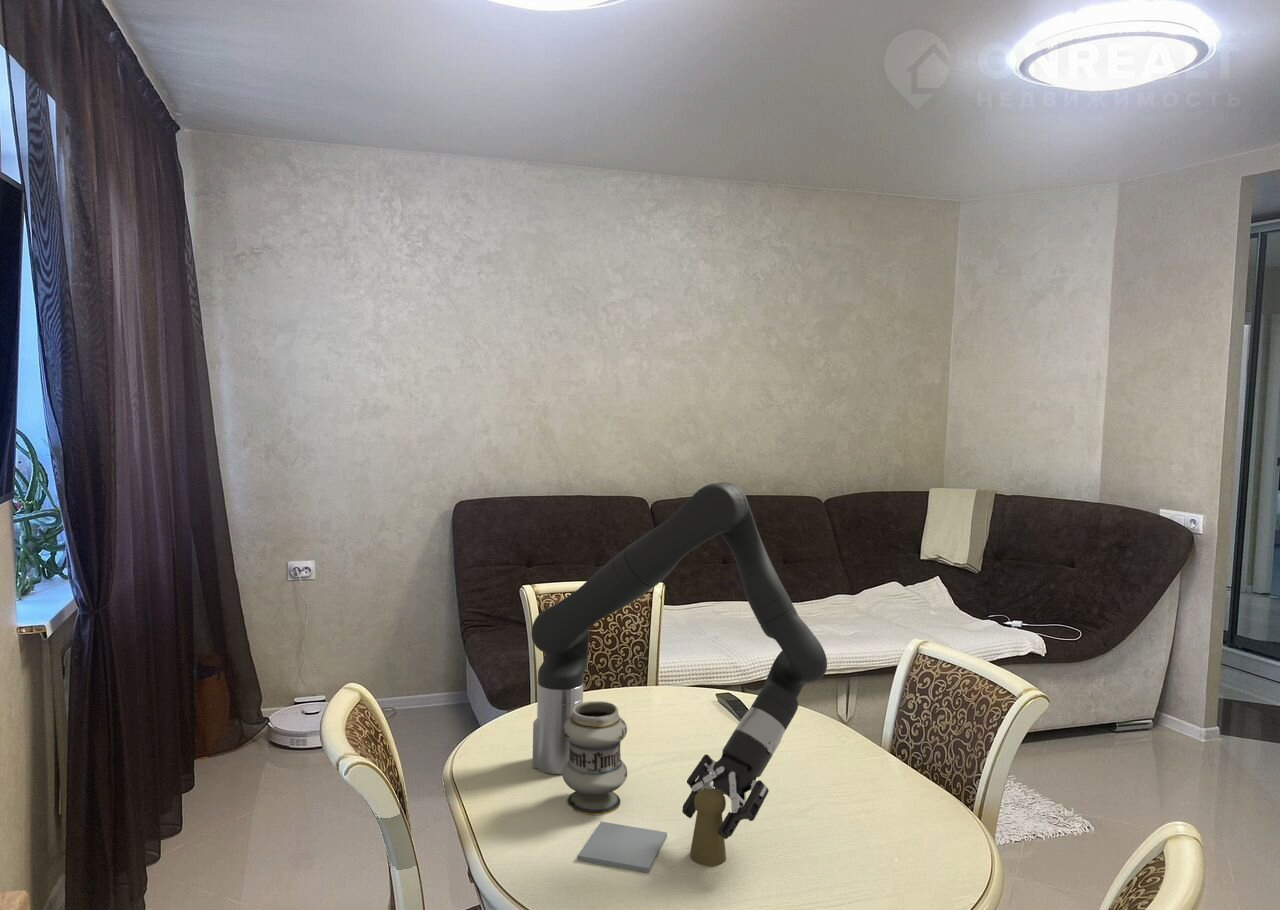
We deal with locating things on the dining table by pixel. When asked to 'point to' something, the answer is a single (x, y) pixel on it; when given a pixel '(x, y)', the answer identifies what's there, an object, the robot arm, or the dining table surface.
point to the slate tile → (623, 847)
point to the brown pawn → (708, 829)
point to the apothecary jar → (594, 757)
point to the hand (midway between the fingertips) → (703, 825)
